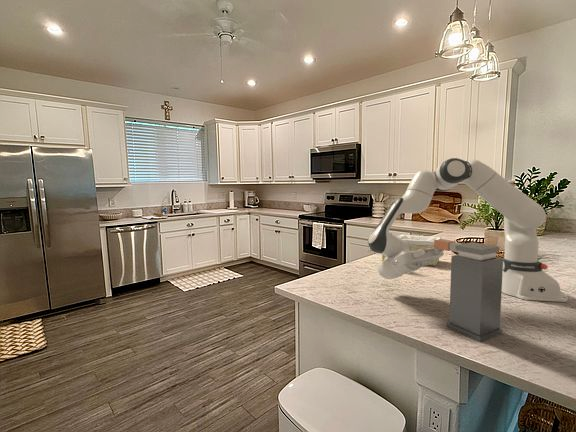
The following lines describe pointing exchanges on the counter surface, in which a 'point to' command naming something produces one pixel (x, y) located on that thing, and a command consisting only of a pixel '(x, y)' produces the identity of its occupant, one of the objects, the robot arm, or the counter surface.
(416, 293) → the counter surface
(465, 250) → the layered grey-topped block
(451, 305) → the sleeve
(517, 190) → the robot arm
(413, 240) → the storage basket
